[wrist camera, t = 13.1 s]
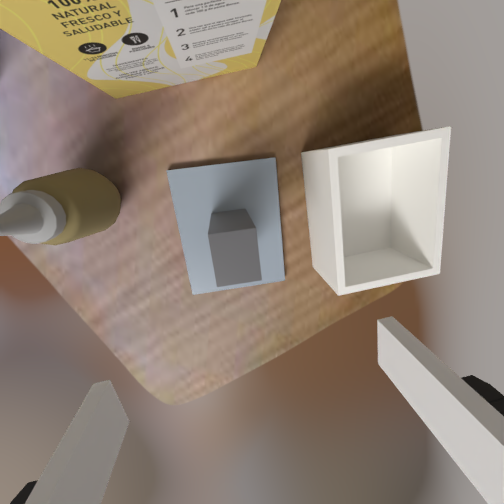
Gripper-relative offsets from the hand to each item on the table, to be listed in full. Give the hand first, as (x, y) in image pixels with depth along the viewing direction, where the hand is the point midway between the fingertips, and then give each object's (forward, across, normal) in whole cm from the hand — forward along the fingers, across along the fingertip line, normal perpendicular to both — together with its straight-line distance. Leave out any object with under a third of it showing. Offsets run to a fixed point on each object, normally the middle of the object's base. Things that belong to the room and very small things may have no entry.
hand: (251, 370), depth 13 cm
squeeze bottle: (+29, -17, +8) cm, 35 cm away
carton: (+29, +19, 0) cm, 35 cm away
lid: (+29, 0, 0) cm, 29 cm away
